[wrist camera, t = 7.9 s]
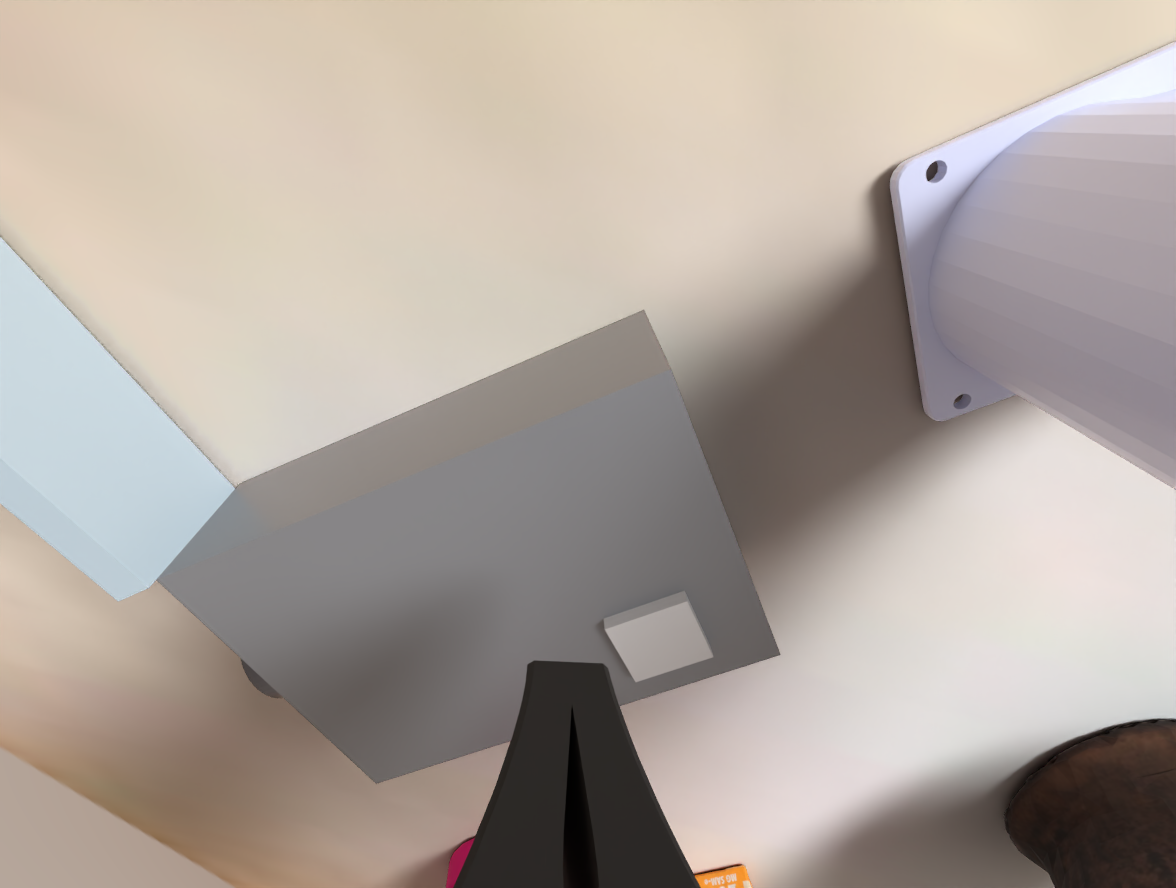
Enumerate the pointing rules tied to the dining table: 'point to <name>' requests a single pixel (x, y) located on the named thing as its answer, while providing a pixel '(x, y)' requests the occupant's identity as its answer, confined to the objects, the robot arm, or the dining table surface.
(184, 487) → the side door
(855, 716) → the dining table surface
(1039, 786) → the jug
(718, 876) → the supplement box
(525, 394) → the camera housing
